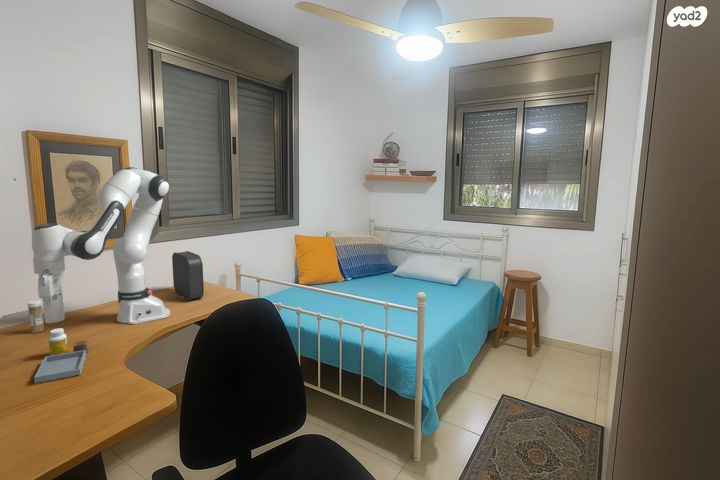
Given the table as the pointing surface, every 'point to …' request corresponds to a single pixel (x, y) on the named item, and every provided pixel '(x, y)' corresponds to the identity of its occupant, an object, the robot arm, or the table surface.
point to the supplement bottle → (58, 342)
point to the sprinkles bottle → (35, 316)
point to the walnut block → (81, 346)
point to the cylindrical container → (55, 309)
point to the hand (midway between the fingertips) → (52, 303)
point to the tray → (60, 366)
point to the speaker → (188, 275)
